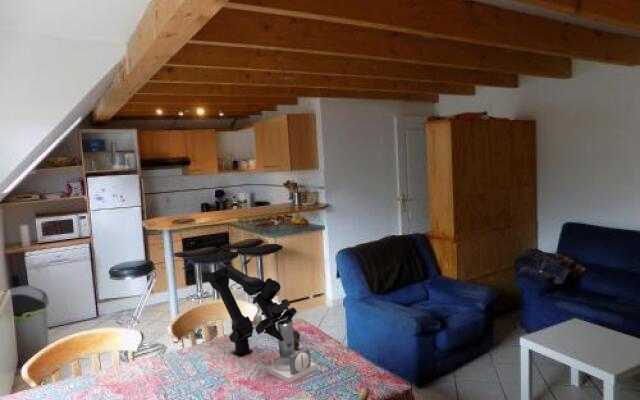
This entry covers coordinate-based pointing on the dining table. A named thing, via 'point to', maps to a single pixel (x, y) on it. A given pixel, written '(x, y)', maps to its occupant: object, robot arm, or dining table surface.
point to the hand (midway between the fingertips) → (288, 338)
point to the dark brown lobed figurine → (296, 339)
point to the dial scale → (292, 366)
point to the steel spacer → (286, 338)
